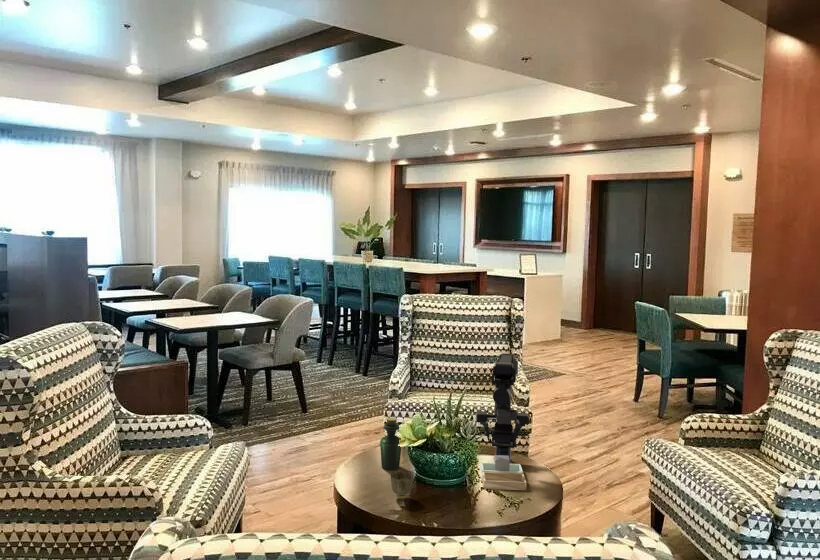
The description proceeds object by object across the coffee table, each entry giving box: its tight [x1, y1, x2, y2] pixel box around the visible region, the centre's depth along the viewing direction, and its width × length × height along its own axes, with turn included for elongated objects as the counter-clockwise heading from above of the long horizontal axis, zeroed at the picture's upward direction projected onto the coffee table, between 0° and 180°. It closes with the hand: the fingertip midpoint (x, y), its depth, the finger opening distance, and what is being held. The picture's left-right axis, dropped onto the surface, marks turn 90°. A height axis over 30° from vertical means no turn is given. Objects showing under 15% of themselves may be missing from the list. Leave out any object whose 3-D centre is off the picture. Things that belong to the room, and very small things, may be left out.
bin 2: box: [481, 472, 528, 491], centre depth 216 cm, size 8×14×4 cm, turn 87°
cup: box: [389, 470, 414, 501], centre depth 204 cm, size 8×7×8 cm
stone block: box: [493, 454, 510, 471], centre depth 225 cm, size 5×5×6 cm
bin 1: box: [480, 462, 524, 476], centre depth 225 cm, size 8×14×4 cm, turn 87°
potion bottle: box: [379, 416, 402, 471], centre depth 232 cm, size 8×8×18 cm
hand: (501, 441), depth 228 cm, fingers open, 9 cm apart
